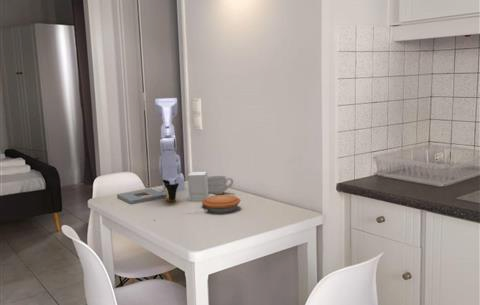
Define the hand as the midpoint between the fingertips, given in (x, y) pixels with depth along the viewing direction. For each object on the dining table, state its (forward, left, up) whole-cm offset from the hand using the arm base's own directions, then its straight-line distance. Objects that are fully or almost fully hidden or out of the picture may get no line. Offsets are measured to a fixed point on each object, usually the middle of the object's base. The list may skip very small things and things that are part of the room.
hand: (171, 198), depth 203 cm
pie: (-12, +20, -3) cm, 24 cm away
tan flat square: (0, 0, -3) cm, 3 cm away
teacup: (-25, -3, -3) cm, 25 cm away
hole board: (+7, -15, -3) cm, 17 cm away
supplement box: (-11, +4, -3) cm, 12 cm away
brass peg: (0, 0, -1) cm, 1 cm away
